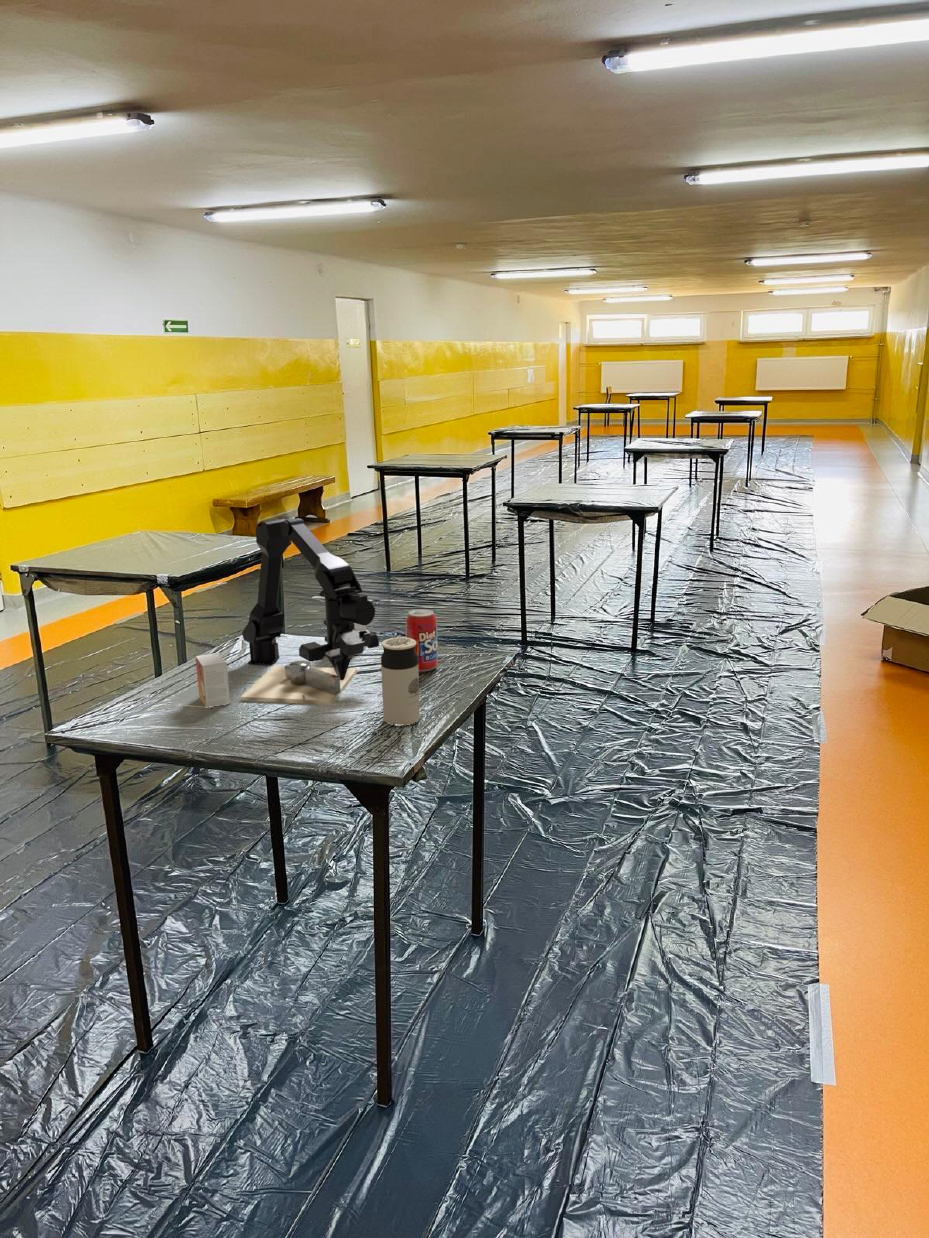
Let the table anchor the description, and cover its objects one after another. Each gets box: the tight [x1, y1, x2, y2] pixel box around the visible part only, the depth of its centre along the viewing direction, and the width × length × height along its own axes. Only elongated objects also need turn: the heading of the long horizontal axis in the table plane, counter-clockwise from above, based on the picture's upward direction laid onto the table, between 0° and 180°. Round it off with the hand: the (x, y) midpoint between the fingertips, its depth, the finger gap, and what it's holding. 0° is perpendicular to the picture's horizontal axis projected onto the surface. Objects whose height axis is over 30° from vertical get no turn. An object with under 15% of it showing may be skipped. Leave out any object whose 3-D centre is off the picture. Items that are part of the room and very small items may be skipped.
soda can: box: [405, 608, 439, 673], centre depth 222 cm, size 8×8×15 cm
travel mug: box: [380, 636, 421, 725], centre depth 189 cm, size 8×8×18 cm
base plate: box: [240, 665, 358, 706], centre depth 213 cm, size 22×22×1 cm
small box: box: [195, 652, 231, 708], centre depth 203 cm, size 8×6×10 cm
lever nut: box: [284, 660, 342, 695], centre depth 209 cm, size 18×5×4 cm, turn 49°
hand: (341, 679), depth 208 cm, fingers closed
